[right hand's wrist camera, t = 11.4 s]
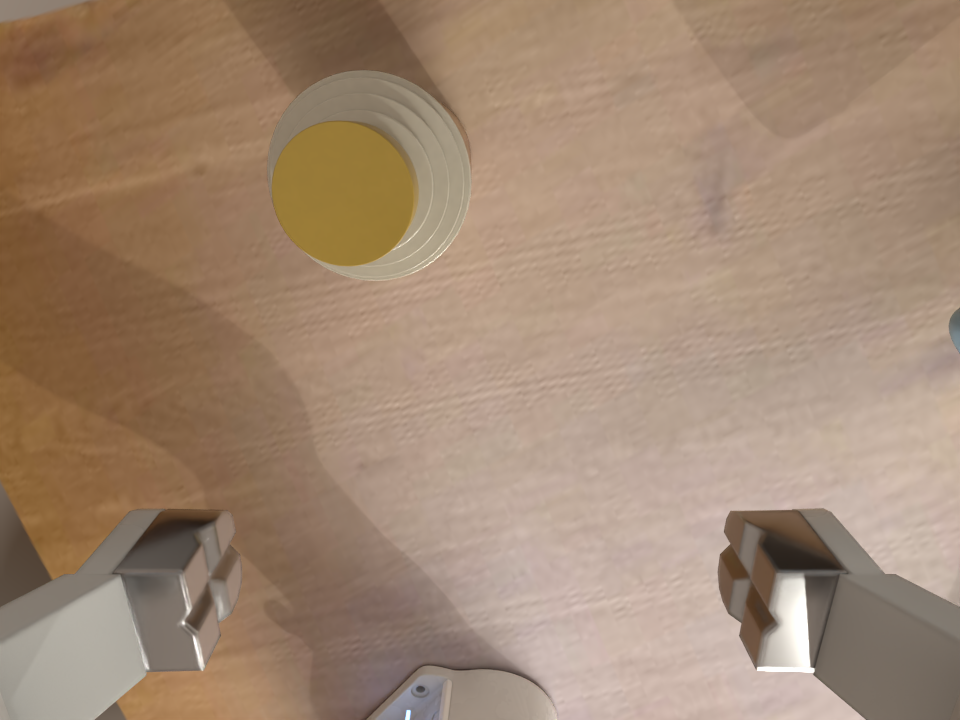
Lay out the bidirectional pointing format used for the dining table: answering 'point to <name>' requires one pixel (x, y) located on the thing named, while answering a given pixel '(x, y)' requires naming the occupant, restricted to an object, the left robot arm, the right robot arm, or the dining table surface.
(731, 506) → the dining table surface
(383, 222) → the cap
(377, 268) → the bottle
